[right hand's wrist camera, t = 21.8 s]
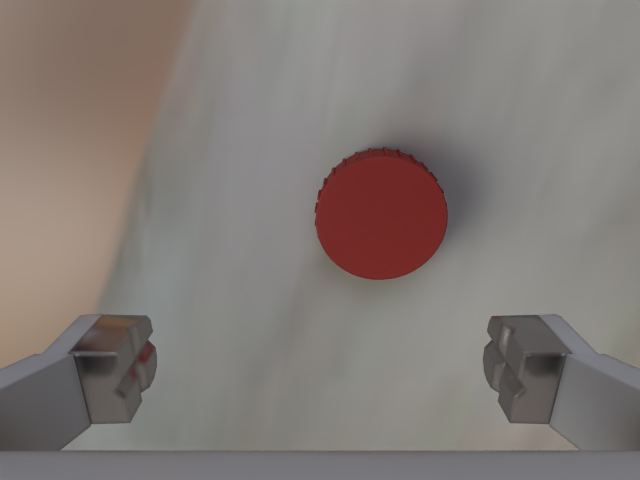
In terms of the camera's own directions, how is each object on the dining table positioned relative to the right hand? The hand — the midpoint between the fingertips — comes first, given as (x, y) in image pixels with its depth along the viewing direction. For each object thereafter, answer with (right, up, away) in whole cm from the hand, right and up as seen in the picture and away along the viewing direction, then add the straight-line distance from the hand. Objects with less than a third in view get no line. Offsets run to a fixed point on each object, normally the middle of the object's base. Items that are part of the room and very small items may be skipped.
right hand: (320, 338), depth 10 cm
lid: (+2, +3, +7) cm, 8 cm away
